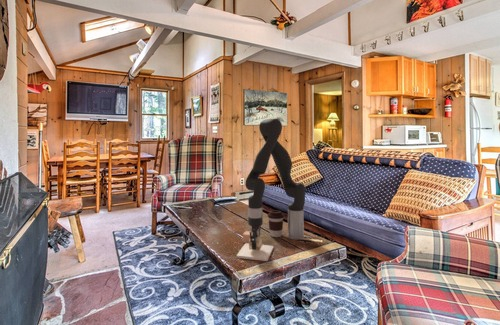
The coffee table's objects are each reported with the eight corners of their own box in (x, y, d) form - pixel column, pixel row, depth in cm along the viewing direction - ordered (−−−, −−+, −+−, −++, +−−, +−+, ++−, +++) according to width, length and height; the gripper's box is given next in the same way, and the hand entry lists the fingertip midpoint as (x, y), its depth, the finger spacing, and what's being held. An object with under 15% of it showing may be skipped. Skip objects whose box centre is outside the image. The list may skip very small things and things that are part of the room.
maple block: (261, 246, 145) (261, 237, 145) (259, 250, 140) (259, 241, 140) (251, 245, 147) (251, 236, 146) (249, 249, 142) (249, 240, 141)
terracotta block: (253, 240, 161) (253, 231, 161) (251, 243, 156) (251, 235, 156) (245, 239, 162) (245, 231, 162) (243, 242, 158) (242, 234, 157)
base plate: (273, 248, 149) (273, 245, 149) (267, 261, 134) (267, 258, 134) (245, 245, 154) (245, 243, 153) (236, 257, 138) (236, 255, 138)
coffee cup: (275, 239, 161) (275, 214, 160) (264, 235, 169) (264, 211, 167) (287, 235, 167) (287, 211, 166) (275, 231, 175) (275, 208, 173)
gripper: (259, 220, 134) (259, 253, 136) (265, 212, 148) (265, 242, 149) (244, 219, 136) (244, 251, 138) (251, 211, 150) (252, 241, 151)
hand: (255, 246), depth 143 cm, fingers closed on maple block, 5 cm apart
